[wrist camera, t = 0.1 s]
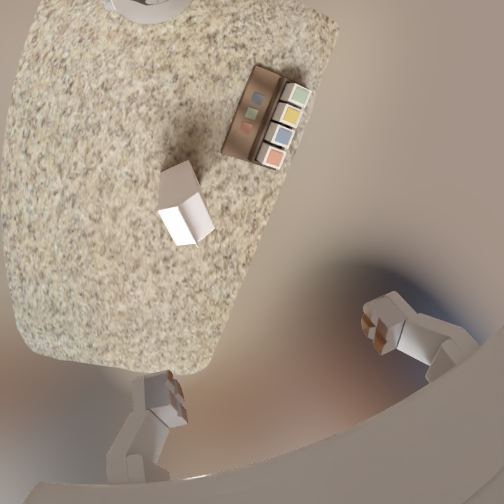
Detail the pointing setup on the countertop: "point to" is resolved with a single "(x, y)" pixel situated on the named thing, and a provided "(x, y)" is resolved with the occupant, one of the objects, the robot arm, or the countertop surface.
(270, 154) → the key terracotta
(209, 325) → the countertop surface
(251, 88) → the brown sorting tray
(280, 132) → the key slate
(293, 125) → the key mustard
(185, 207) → the milk
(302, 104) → the key sage
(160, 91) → the countertop surface
